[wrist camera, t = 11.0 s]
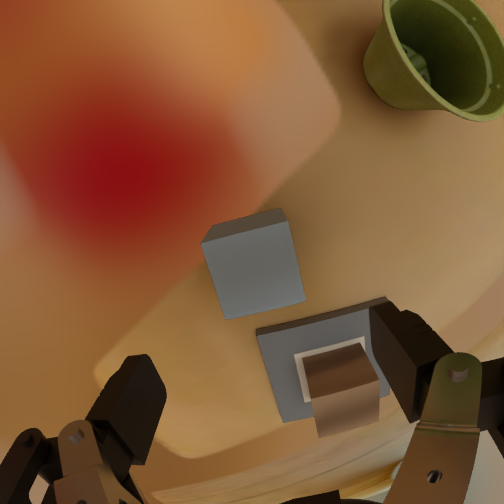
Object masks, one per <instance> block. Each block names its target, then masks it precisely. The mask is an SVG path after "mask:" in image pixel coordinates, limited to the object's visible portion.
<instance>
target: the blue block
mask: <svg viewBox="0 0 504 504" xmlns="http://www.w3.org/2000/svg"><path fill="white" fill-rule="evenodd" d="M201 247H202V250H203V253H204V256H205V259H206V263H207V266H208V269H209V272H210V275H211V278H212V281H213V284H214V287H215V290H216V293H217V296H218V299H219V302H220V305H221V308H222V311H223V314H224V317H225V320H228V319H233V318H238V317H242V316H247V315H251V314H256V313H260V312H265V311H269V310H273V309H277V308H282V307H286V306H290V305H294V304H298V303H302V302H306V299H305V294H304V289H303V285H302V280H301V275H300V271H299V266H298V262H297V257H296V253H295V249H294V244H293V240H292V236H291V231H290V227H289V223H288V220H287V218H286V216H285V215H284V213H283V211H282V210H281V208H278V209H274V210H270V211H266V212H262V213H259V214H255V215H250V216H246V217H242V218H238V219H235V220H231V221H227V222H223V223H219V224H216V225H213V226H212V227H211V229H210V230H209V231H208V233H207V234H206V236H205V237H204V239H203V240H202V242H201Z"/></svg>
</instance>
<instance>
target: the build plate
mask: <svg viewBox="0 0 504 504" xmlns="http://www.w3.org/2000/svg"><path fill="white" fill-rule="evenodd" d="M386 301H389V300H388V299H387V298H386V297H382V298H379V299H376V300H372V301H369V302H365V303H362V304H358V305H355V306H351V307H347V308H344V309H340V310H336V311H332V312H329V313H325V314H321V315H317V316H313V317H309V318H305V319H301V320H296V321H292V322H288V323H283V324H279V325H274V326H270V327H265V328H261V329H257V339H258V343H259V346H260V349H261V353H262V356H263V359H264V363H265V366H266V369H267V372H268V376H269V379H270V382H271V386H272V389H273V392H274V395H275V399H276V402H277V405H278V408H279V411H280V415H281V418H282V421H283V423H285V422H290V421H295V420H300V419H305V418H309V417H314V412H313V407H312V403H311V398H310V393H309V388H308V384H307V379H306V374H305V370H304V365H303V361H302V358H303V357H307V356H311V355H315V354H319V353H323V352H327V351H331V350H335V349H338V348H342V347H345V346H349V345H352V344H356V343H359V342H360V343H361V345H362V347H363V349H364V351H365V353H366V355H367V356H368V358H369V360H370V362H371V364H372V366H373V368H374V370H375V372H376V374H377V376H378V378H379V380H380V394H379V398H382V397H385V396H388V395H390V385H389V383H388V382H387V380H386V378H385V376H384V374H383V373H382V371H381V369H380V367H379V365H378V364H377V362H376V360H375V358H374V355H373V352H372V347H371V336H370V322H369V307H370V306H373V305H376V304H380V303H383V302H386Z"/></svg>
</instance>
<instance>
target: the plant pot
mask: <svg viewBox="0 0 504 504" xmlns="http://www.w3.org/2000/svg"><path fill="white" fill-rule="evenodd" d="M382 11H383V21H382V23H381V25H380V26H379V28H378V30H377V32H376V34H375V36H374V37H373V39H372V41H371V43H370V44H369V46H368V48H367V50H366V53H365V55H364V59H363V69H364V73H365V77H366V79H367V81H368V83H369V84H370V85H371V87H372V88H373V89H374V91H375V92H376V93H377V95H378V96H379V98H380V99H382V100H383V101H384V102H386V103H387V104H389V105H391V106H393V107H395V108H398V109H402V110H445V111H448V112H451V113H453V114H455V115H457V116H459V117H461V118H464V119H467V120H470V121H476V122H486V121H491V120H494V119H496V118H498V117H499V116H501V115H502V114H503V113H504V41H503V39H502V37H501V35H500V33H499V31H498V30H497V28H496V26H495V25H494V23H493V22H492V20H491V19H490V18H489V16H488V15H487V14H486V13H485V12H484V10H483V9H482V8H481V7H480V6H479V5H478V4H477V3H476V2H475V1H474V0H383V2H382ZM403 49H405V50H406V51H407V53H405V52H404V50H403ZM423 75H424V77H425V80H426V82H425V80H424V79H423Z"/></svg>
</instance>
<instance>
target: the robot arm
mask: <svg viewBox="0 0 504 504" xmlns="http://www.w3.org/2000/svg"><path fill="white" fill-rule="evenodd" d="M369 322H370V336H371V347H372V352H373V355H374V358H375V360H376V362H377V364H378V365H379V367H380V369H381V371H382V373H383V374H384V376H385V378H386V380H387V382H388V383H389V385H390V387H391V389H392V391H393V392H394V394H395V396H396V398H397V400H398V402H399V404H400V406H401V408H402V409H403V411H404V413H405V415H406V417H407V419H408V421H409V423H413V422H415V421H417V420H420V421H419V423H417V425H416V427H415V430H414V433H413V435H412V438H411V441H410V443H409V446H408V449H407V451H406V454H405V456H404V459H403V461H402V463H401V466H400V468H399V471H398V473H397V475H396V477H395V479H394V481H393V484H392V486H391V488H390V490H389V492H388V494H387V496H386V498H385V500H384V502H383V504H463V503H464V500H465V497H466V493H467V490H468V486H469V483H470V479H471V474H472V470H473V466H474V462H475V457H476V453H477V447H478V442H479V435H480V432H481V431H485V430H488V432H489V433H490V435H491V437H492V438H493V440H494V442H495V444H496V445H497V447H498V449H499V451H500V452H501V454H502V456H503V458H504V357H503V358H499V359H495V360H490V361H486V362H480V361H479V360H478V359H477V358H476V357H475V356H473V355H471V354H468V353H461V352H460V353H459V352H457V353H454V352H453V350H452V349H451V348H450V347H449V346H448V345H447V344H446V343H445V342H444V341H443V340H442V339H441V338H440V337H439V335H438V334H437V333H436V332H435V331H433V330H432V328H431V327H430V326H429V325H428V324H426V322H425V321H424V320H423V319H422V318H421V317H420V316H419V315H418V314H416V313H413V312H411V311H409V310H404V311H401V312H400V311H399V309H398V308H397V307H396V306H395V305H394V304H393V303H392V302H391V301H386V302H383V303H380V304H376V305H373V306H370V307H369ZM166 398H167V393H166V388H165V385H164V383H163V382H162V380H161V378H160V376H159V374H158V372H157V370H156V368H155V366H154V364H153V362H152V360H151V358H150V357H149V356H148V355H147V354H141V355H133V356H128V357H126V359H125V361H124V362H123V364H122V365H121V367H120V369H119V370H118V371H117V372H116V373H114V374H113V375H112V376H111V377H110V378H109V380H108V381H107V383H106V385H105V386H104V389H103V390H102V391H101V393H100V396H98V398H97V400H96V401H95V403H94V405H93V407H92V408H91V410H90V411H89V413H88V415H87V417H86V418H85V420H77V421H73V422H71V423H69V424H67V425H66V426H65V427H64V428H63V429H62V430H61V432H60V433H59V436H58V437H54V438H46V437H45V436H44V435H43V434H42V432H41V431H40V430H39V429H37V428H30V429H27V430H25V431H23V432H22V433H21V434H20V435H19V436H18V437H17V438H16V440H15V441H14V443H13V445H12V446H11V448H10V449H9V451H8V453H7V454H6V456H5V458H4V459H3V461H2V463H1V465H0V504H32V503H31V501H30V499H29V491H30V489H31V487H32V485H33V483H34V481H35V479H36V476H37V474H39V475H40V476H41V477H42V478H43V479H44V480H45V481H46V482H47V483H48V484H49V487H48V489H47V491H46V493H45V496H44V498H43V501H42V503H41V504H149V503H148V501H147V500H146V498H145V496H144V494H143V492H142V490H141V489H140V487H139V484H138V483H137V480H136V479H135V476H134V474H133V473H132V472H131V471H130V470H129V469H130V466H131V465H145V462H146V459H147V456H148V453H149V450H150V447H151V444H152V441H153V438H154V435H155V432H156V429H157V426H158V423H159V420H160V417H161V414H162V411H163V408H164V405H165V402H166ZM281 504H382V503H378V502H374V501H369V500H362V499H340V494H339V490H335V491H331V492H327V493H322V494H317V495H312V496H307V497H301V498H295V499H292V500H289V501H286V502H283V503H281Z"/></svg>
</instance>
